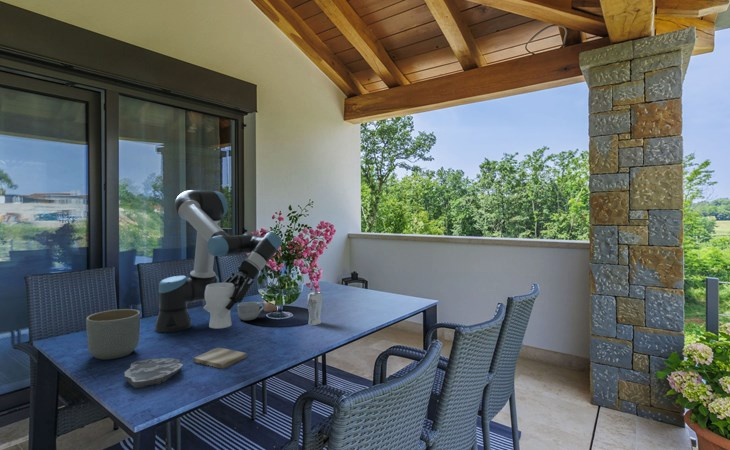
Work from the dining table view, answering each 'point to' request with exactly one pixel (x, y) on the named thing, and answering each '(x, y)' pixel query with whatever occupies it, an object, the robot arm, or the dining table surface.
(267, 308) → the tealight holder
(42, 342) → the dining table surface
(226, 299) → the cup
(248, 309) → the teacup
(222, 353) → the oak board
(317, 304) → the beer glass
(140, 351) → the dining table surface
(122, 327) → the planter
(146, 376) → the brain slice
